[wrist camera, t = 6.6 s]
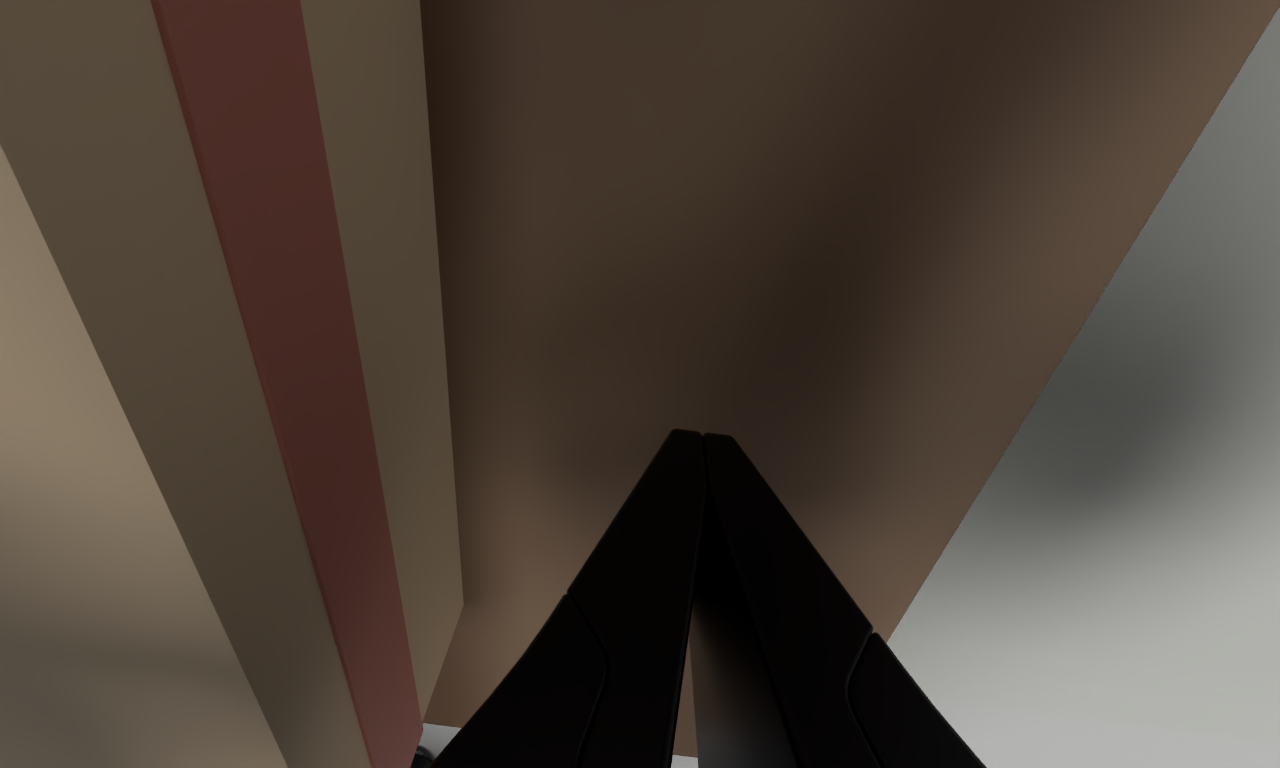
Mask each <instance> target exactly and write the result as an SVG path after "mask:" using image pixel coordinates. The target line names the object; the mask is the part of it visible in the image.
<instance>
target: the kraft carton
mask: <svg viewBox="0 0 1280 768" xmlns="http://www.w3.org/2000/svg"><path fill="white" fill-rule="evenodd" d="M463 605H464V601H463V587H462V573H461V560H460V546H459V532H458V519H457V505H456V491H455V477H454V464H453V450H452V436H451V423H450V409H449V395H448V382H447V368H446V354H445V340H444V327H443V313H442V299H441V286H440V272H439V258H438V244H437V231H436V217H435V203H434V190H433V176H432V162H431V148H430V135H429V121H428V107H427V94H426V80H425V66H424V53H423V39H422V25H421V11H420V0H0V768H410V767H411V764H412V761H413V758H414V755H415V752H416V749H417V746H418V744H419V741H420V738H421V735H422V732H423V726H422V722H423V719H424V716H425V713H426V710H427V707H428V705H429V702H430V699H431V696H432V693H433V690H434V688H435V685H436V682H437V679H438V676H439V673H440V671H441V668H442V665H443V662H444V659H445V656H446V654H447V651H448V648H449V645H450V642H451V639H452V637H453V634H454V631H455V628H456V625H457V622H458V620H459V617H460V614H461V611H462V608H463Z"/></svg>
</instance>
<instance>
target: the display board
mask: <svg viewBox="0 0 1280 768" xmlns="http://www.w3.org/2000/svg"><path fill="white" fill-rule="evenodd" d="M1279 6H1280V0H420V11H421V25H422V39H423V53H424V66H425V80H426V94H427V107H428V121H429V135H430V148H431V162H432V176H433V190H434V203H435V217H436V231H437V244H438V258H439V272H440V286H441V299H442V313H443V327H444V340H445V354H446V368H447V382H448V395H449V409H450V423H451V436H452V450H453V464H454V477H455V491H456V505H457V519H458V532H459V546H460V560H461V573H462V587H463V601H464V605H463V608H462V611H461V614H460V617H459V620H458V622H457V625H456V628H455V631H454V634H453V637H452V639H451V642H450V645H449V648H448V651H447V654H446V656H445V659H444V662H443V665H442V668H441V671H440V673H439V676H438V679H437V682H436V685H435V688H434V690H433V693H432V696H431V699H430V702H429V705H428V707H427V710H426V713H425V716H424V719H423V722H422V723H428V724H435V725H443V726H451V727H459V728H462V727H463V726H464V725H465V724H466V723H467V722H468V720H469V719H470V718H471V717H472V716H473V715H474V713H475V712H476V711H477V710H478V709H479V708H480V706H481V705H482V704H483V703H484V702H485V701H486V699H487V698H488V697H489V696H490V695H491V693H492V692H493V691H494V690H495V688H496V687H497V686H498V685H499V683H500V682H501V681H502V680H503V678H504V677H505V676H506V675H507V673H508V672H509V671H510V670H511V668H512V667H513V666H514V665H515V664H516V662H517V661H518V660H519V659H520V657H521V656H522V655H523V653H524V652H525V650H526V649H527V648H528V646H529V645H530V643H531V642H532V641H533V639H534V638H535V636H536V635H537V633H538V632H539V631H540V629H541V628H542V626H543V625H544V623H545V622H546V621H547V619H548V618H549V616H550V615H551V613H552V612H553V610H554V609H555V607H556V605H557V604H558V602H559V601H560V599H561V598H562V596H563V595H565V594H567V589H568V588H569V586H570V585H571V583H572V582H573V580H574V579H575V577H576V575H577V574H578V572H579V571H580V569H581V568H582V566H583V565H584V563H585V562H586V560H587V559H588V557H589V556H590V554H591V552H592V551H593V549H594V548H595V546H596V545H597V543H598V542H599V540H600V539H601V537H602V536H603V534H604V533H605V531H606V529H607V528H608V526H609V525H610V523H611V522H612V520H613V519H614V517H615V516H616V514H617V513H618V511H619V509H620V508H621V506H622V505H623V503H624V502H625V500H626V499H627V497H628V496H629V494H630V493H631V491H632V490H633V488H634V486H635V485H636V483H637V482H638V480H639V479H640V477H641V476H642V474H643V473H644V471H645V470H646V468H647V467H648V465H649V463H650V462H651V460H652V459H653V457H654V456H655V454H656V453H657V451H658V450H659V448H660V447H661V445H662V444H663V442H664V440H665V439H666V437H667V436H668V434H669V433H670V431H671V430H673V429H676V428H677V429H685V430H693V431H698V432H700V433H701V435H703V434H704V433H706V432H709V433H717V434H725V435H730V436H732V437H733V438H734V439H735V440H736V441H737V442H738V444H739V445H740V447H741V448H742V449H743V451H744V452H745V453H746V455H747V456H748V457H749V459H750V460H751V461H752V463H753V464H754V466H755V467H756V468H757V470H758V471H759V472H760V474H761V475H762V476H763V478H764V479H765V480H766V482H767V483H768V484H769V486H770V487H771V489H772V490H773V491H774V493H775V494H776V495H777V497H778V498H779V499H780V501H781V502H782V503H783V505H784V506H785V507H786V509H787V510H788V512H789V513H790V514H791V516H792V517H793V518H794V520H795V521H796V522H797V524H798V525H799V526H800V528H801V529H802V531H803V532H804V533H805V535H806V536H807V537H808V539H809V540H810V541H811V543H812V544H813V545H814V547H815V548H816V549H817V551H818V552H819V554H820V555H821V556H822V558H823V559H824V560H825V562H826V563H827V564H828V566H829V567H830V568H831V570H832V571H833V572H834V574H835V575H836V577H837V578H838V579H839V581H840V582H841V583H842V585H843V586H844V587H845V589H846V590H847V591H848V593H849V594H850V596H851V597H852V598H853V600H854V601H855V602H856V604H857V605H858V606H859V608H860V609H861V610H862V612H863V613H864V614H865V616H866V617H867V619H868V620H869V621H870V623H871V624H872V625H873V627H874V631H873V633H874V632H876V633H879V634H880V636H881V637H882V638H883V640H884V641H885V642H886V643H887V641H888V640H889V638H890V636H891V635H892V633H893V631H894V630H895V628H896V627H897V625H898V623H899V622H900V620H901V618H902V617H903V615H904V614H905V612H906V610H907V609H908V607H909V606H910V604H911V602H912V601H913V599H914V597H915V596H916V594H917V593H918V591H919V589H920V588H921V586H922V584H923V583H924V581H925V580H926V578H927V576H928V575H929V573H930V572H931V570H932V568H933V567H934V565H935V563H936V562H937V560H938V559H939V557H940V555H941V554H942V552H943V550H944V549H945V547H946V546H947V544H948V542H949V541H950V539H951V537H952V536H953V534H954V533H955V531H956V529H957V528H958V526H959V525H960V523H961V521H962V520H963V518H964V516H965V515H966V513H967V512H968V510H969V508H970V507H971V505H972V503H973V502H974V500H975V499H976V497H977V495H978V494H979V492H980V491H981V489H982V487H983V486H984V484H985V482H986V481H987V479H988V478H989V476H990V474H991V473H992V471H993V469H994V468H995V466H996V465H997V463H998V461H999V460H1000V458H1001V457H1002V455H1003V453H1004V452H1005V450H1006V448H1007V447H1008V445H1009V444H1010V442H1011V440H1012V439H1013V437H1014V435H1015V434H1016V432H1017V431H1018V429H1019V427H1020V426H1021V424H1022V422H1023V421H1024V419H1025V418H1026V416H1027V414H1028V413H1029V411H1030V410H1031V408H1032V406H1033V405H1034V403H1035V401H1036V400H1037V398H1038V397H1039V395H1040V393H1041V392H1042V390H1043V388H1044V387H1045V385H1046V384H1047V382H1048V380H1049V379H1050V377H1051V376H1052V374H1053V372H1054V371H1055V369H1056V367H1057V366H1058V364H1059V363H1060V361H1061V359H1062V358H1063V356H1064V354H1065V353H1066V351H1067V350H1068V348H1069V346H1070V345H1071V343H1072V341H1073V340H1074V338H1075V337H1076V335H1077V333H1078V332H1079V330H1080V329H1081V327H1082V325H1083V324H1084V322H1085V320H1086V319H1087V317H1088V316H1089V314H1090V312H1091V311H1092V309H1093V307H1094V306H1095V304H1096V303H1097V301H1098V299H1099V298H1100V296H1101V295H1102V293H1103V291H1104V290H1105V288H1106V286H1107V285H1108V283H1109V282H1110V280H1111V278H1112V277H1113V275H1114V273H1115V272H1116V270H1117V269H1118V267H1119V265H1120V264H1121V262H1122V261H1123V259H1124V257H1125V256H1126V254H1127V252H1128V251H1129V249H1130V248H1131V246H1132V244H1133V243H1134V241H1135V239H1136V238H1137V236H1138V235H1139V233H1140V231H1141V230H1142V228H1143V226H1144V225H1145V223H1146V222H1147V220H1148V218H1149V217H1150V215H1151V214H1152V212H1153V210H1154V209H1155V207H1156V205H1157V204H1158V202H1159V201H1160V199H1161V197H1162V196H1163V194H1164V192H1165V191H1166V189H1167V188H1168V186H1169V184H1170V183H1171V181H1172V180H1173V178H1174V176H1175V175H1176V173H1177V171H1178V170H1179V168H1180V167H1181V165H1182V163H1183V162H1184V160H1185V158H1186V157H1187V155H1188V154H1189V152H1190V150H1191V149H1192V147H1193V146H1194V144H1195V142H1196V141H1197V139H1198V137H1199V136H1200V134H1201V133H1202V131H1203V129H1204V128H1205V126H1206V124H1207V123H1208V121H1209V120H1210V118H1211V116H1212V115H1213V113H1214V111H1215V110H1216V108H1217V107H1218V105H1219V103H1220V102H1221V100H1222V99H1223V97H1224V95H1225V94H1226V92H1227V90H1228V89H1229V87H1230V86H1231V84H1232V82H1233V81H1234V79H1235V77H1236V76H1237V74H1238V73H1239V71H1240V69H1241V68H1242V66H1243V65H1244V63H1245V61H1246V60H1247V58H1248V56H1249V55H1250V53H1251V52H1252V50H1253V48H1254V47H1255V45H1256V43H1257V42H1258V40H1259V39H1260V37H1261V35H1262V34H1263V32H1264V30H1265V29H1266V27H1267V26H1268V24H1269V22H1270V21H1271V19H1272V18H1273V16H1274V14H1275V13H1276V11H1277V9H1278V8H1279ZM873 633H872V634H873ZM673 755H681V756H689V757H697V758H698V754H697V740H696V726H695V712H694V698H693V684H692V670H691V656H690V643H689V637H688V645H687V652H686V660H685V667H684V674H683V682H682V689H681V696H680V704H679V711H678V719H677V726H676V733H675V741H674V748H673Z"/></svg>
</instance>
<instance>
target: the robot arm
mask: <svg viewBox="0 0 1280 768" xmlns="http://www.w3.org/2000/svg"><path fill="white" fill-rule="evenodd" d="M873 631H874V627H873V625H872V624H871V623H870V621H869V620H868V619H867V617H866V616H865V614H864V613H863V612H862V610H861V609H860V608H859V606H858V605H857V604H856V602H855V601H854V600H853V598H852V597H851V596H850V594H849V593H848V591H847V590H846V589H845V587H844V586H843V585H842V583H841V582H840V581H839V579H838V578H837V577H836V575H835V574H834V572H833V571H832V570H831V568H830V567H829V566H828V564H827V563H826V562H825V560H824V559H823V558H822V556H821V555H820V554H819V552H818V551H817V549H816V548H815V547H814V545H813V544H812V543H811V541H810V540H809V539H808V537H807V536H806V535H805V533H804V532H803V531H802V529H801V528H800V526H799V525H798V524H797V522H796V521H795V520H794V518H793V517H792V516H791V514H790V513H789V512H788V510H787V509H786V507H785V506H784V505H783V503H782V502H781V501H780V499H779V498H778V497H777V495H776V494H775V493H774V491H773V490H772V489H771V487H770V486H769V484H768V483H767V482H766V480H765V479H764V478H763V476H762V475H761V474H760V472H759V471H758V470H757V468H756V467H755V466H754V464H753V463H752V461H751V460H750V459H749V457H748V456H747V455H746V453H745V452H744V451H743V449H742V448H741V447H740V445H739V444H738V442H737V441H736V440H735V439H734V438H733V437H732V436H730V435H725V434H717V433H709V432H706V433H704V434H703V435H701V433H700V432H698V431H693V430H685V429H677V428H676V429H673V430H671V431H670V433H669V434H668V436H667V437H666V439H665V440H664V442H663V444H662V445H661V447H660V448H659V450H658V451H657V453H656V454H655V456H654V457H653V459H652V460H651V462H650V463H649V465H648V467H647V468H646V470H645V471H644V473H643V474H642V476H641V477H640V479H639V480H638V482H637V483H636V485H635V486H634V488H633V490H632V491H631V493H630V494H629V496H628V497H627V499H626V500H625V502H624V503H623V505H622V506H621V508H620V509H619V511H618V513H617V514H616V516H615V517H614V519H613V520H612V522H611V523H610V525H609V526H608V528H607V529H606V531H605V533H604V534H603V536H602V537H601V539H600V540H599V542H598V543H597V545H596V546H595V548H594V549H593V551H592V552H591V554H590V556H589V557H588V559H587V560H586V562H585V563H584V565H583V566H582V568H581V569H580V571H579V572H578V574H577V575H576V577H575V579H574V580H573V582H572V583H571V585H570V586H569V588H568V589H567V594H565V595H563V596H562V598H561V599H560V601H559V602H558V604H557V605H556V607H555V609H554V610H553V612H552V613H551V615H550V616H549V618H548V619H547V621H546V622H545V623H544V625H543V626H542V628H541V629H540V631H539V632H538V633H537V635H536V636H535V638H534V639H533V641H532V642H531V643H530V645H529V646H528V648H527V649H526V650H525V652H524V653H523V655H522V656H521V657H520V659H519V660H518V661H517V662H516V664H515V665H514V666H513V667H512V668H511V670H510V671H509V672H508V673H507V675H506V676H505V677H504V678H503V680H502V681H501V682H500V683H499V685H498V686H497V687H496V688H495V690H494V691H493V692H492V693H491V695H490V696H489V697H488V698H487V699H486V701H485V702H484V703H483V704H482V705H481V706H480V708H479V709H478V710H477V711H476V712H475V713H474V715H473V716H472V717H471V718H470V719H469V720H468V722H467V723H466V724H465V725H464V726H463V727H462V729H461V730H460V731H459V732H458V733H457V734H456V736H455V737H454V738H453V739H452V740H451V741H450V743H449V744H448V745H447V746H446V747H445V748H444V750H443V751H442V752H441V753H440V754H439V755H438V757H437V758H436V759H435V760H434V761H433V762H432V764H431V763H430V762H429V761H428V760H427V759H426V758H425V757H424V756H422V755H420V754H417V753H415V755H414V758H413V761H412V764H411V767H410V768H671V763H672V755H673V748H674V741H675V733H676V726H677V719H678V711H679V704H680V696H681V689H682V682H683V674H684V667H685V660H686V652H687V645H688V637H689V643H690V656H691V670H692V684H693V698H694V712H695V726H696V740H697V754H698V768H987V767H986V766H985V765H984V764H983V763H982V762H981V761H980V759H979V758H978V757H977V756H976V755H975V754H974V753H973V751H972V750H971V749H970V748H969V747H968V745H967V744H966V743H965V742H964V741H963V740H962V738H961V737H960V736H959V735H958V734H957V732H956V731H955V730H954V729H953V728H952V726H951V725H950V724H949V723H948V722H947V721H946V719H945V718H944V717H943V716H942V715H941V713H940V712H939V711H938V710H937V709H936V708H935V706H934V705H933V704H932V703H931V701H930V700H929V699H928V697H927V696H926V695H925V694H924V692H923V691H922V690H921V688H920V687H919V686H918V685H917V683H916V682H915V681H914V679H913V678H912V677H911V676H910V674H909V673H908V672H907V670H906V669H905V668H904V667H903V665H902V664H901V663H900V661H899V660H898V659H897V657H896V656H895V655H894V653H893V652H892V651H891V649H890V648H889V647H888V645H887V644H886V642H885V641H884V640H883V638H882V637H881V636H880V634H879V633H876V632H874V633H873ZM872 633H873V634H872Z"/></svg>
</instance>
